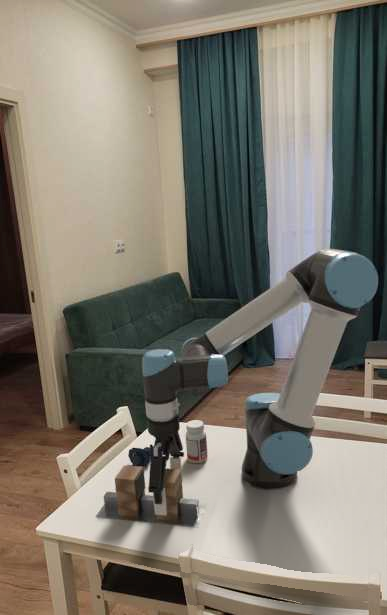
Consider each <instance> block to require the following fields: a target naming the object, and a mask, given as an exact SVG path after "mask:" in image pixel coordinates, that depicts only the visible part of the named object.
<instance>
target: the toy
mask: <svg viewBox="0 0 387 615" xmlns="http://www.w3.org/2000/svg"><path fill="white" fill-rule="evenodd" d="M151 446H153V447H154V445H153V444H149V446H146V447H143V448H142V447H141V448H140V447H132V448H130V449H129V450H128V458H129V461H130V463H131V466H138V467H147V466H148V465H149V464H150V461H151V452H150V448H151Z"/></svg>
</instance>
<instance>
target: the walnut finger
mask: <svg viewBox="0 0 387 615" xmlns="http://www.w3.org/2000/svg"><path fill="white" fill-rule="evenodd" d="M163 488H165V495H166V507H167V515H157V519H161V520H172V521H178V518H179V516H178V504H177V503H178V501H179V498H184V491H183V475H182V476H181V469H171V468H167V467H166V470H165V478H164V486H163Z"/></svg>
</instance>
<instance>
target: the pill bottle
mask: <svg viewBox="0 0 387 615" xmlns="http://www.w3.org/2000/svg"><path fill="white" fill-rule="evenodd" d="M185 426H186V432H185V445H186V458H187V461H188V462H190V463H193V464H200V463H203V462H205V461H207V459H208V444H207V432H206V430H205V424H204V422H203V421H202V420H199V419H194V420H193V419H192V420H189V421H187V423H186V425H185Z"/></svg>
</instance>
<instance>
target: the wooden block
mask: <svg viewBox="0 0 387 615" xmlns="http://www.w3.org/2000/svg"><path fill="white" fill-rule="evenodd" d="M143 467H144V466H132V465H123V466H122V467H121V469H120V470H119V471H118V473H117V474H116V476H115V478H114V485H115V486H114V487H115V492H116V496H117V505H118V515H121V516H131V517H138V516H139V505H138V500H139V498H140V496H141V495H146V481H145V480H146V479H145V470H144V468H143Z"/></svg>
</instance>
